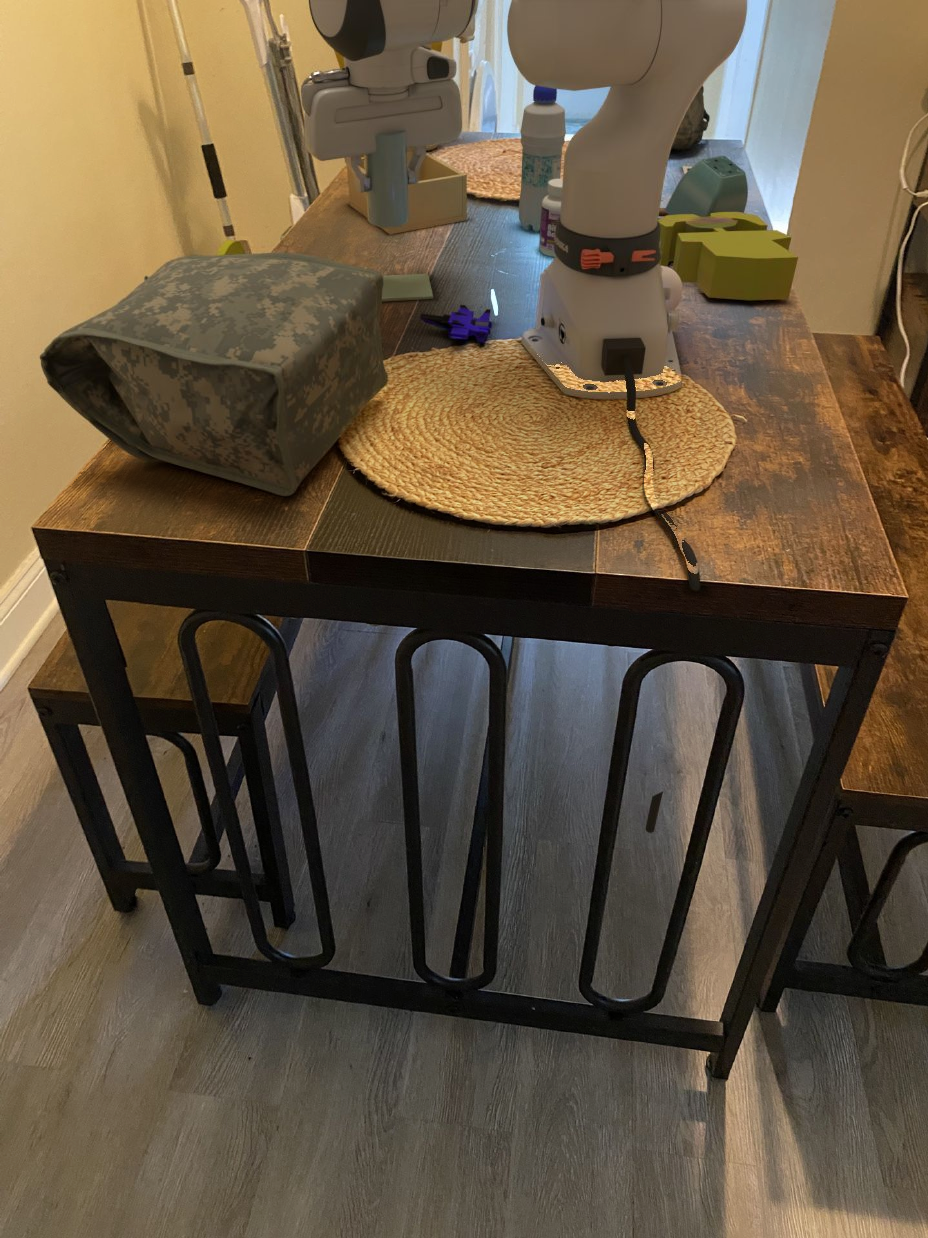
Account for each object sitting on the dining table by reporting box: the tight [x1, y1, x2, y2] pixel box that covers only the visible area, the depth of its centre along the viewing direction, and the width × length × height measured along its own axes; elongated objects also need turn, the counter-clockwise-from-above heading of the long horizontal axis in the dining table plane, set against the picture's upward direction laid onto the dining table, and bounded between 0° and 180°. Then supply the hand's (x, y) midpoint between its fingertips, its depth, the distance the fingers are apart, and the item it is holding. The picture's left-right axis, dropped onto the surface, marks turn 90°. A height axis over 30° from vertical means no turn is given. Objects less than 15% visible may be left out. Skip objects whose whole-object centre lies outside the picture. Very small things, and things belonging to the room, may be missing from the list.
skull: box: [671, 84, 711, 151], centre depth 175 cm, size 20×18×20 cm
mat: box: [382, 273, 434, 302], centre depth 125 cm, size 8×10×1 cm
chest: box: [346, 151, 468, 235], centre depth 146 cm, size 16×14×7 cm
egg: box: [661, 266, 683, 311], centre depth 116 cm, size 6×6×8 cm
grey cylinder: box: [363, 131, 409, 228], centre depth 117 cm, size 7×5×11 cm
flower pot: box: [664, 155, 749, 217], centre depth 138 cm, size 9×9×9 cm
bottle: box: [518, 85, 567, 233], centre depth 137 cm, size 7×7×20 cm
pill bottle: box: [538, 178, 563, 258], centre depth 133 cm, size 5×5×10 cm
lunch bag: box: [39, 251, 389, 497], centre depth 93 cm, size 22×16×27 cm
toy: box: [658, 212, 799, 301], centre depth 126 cm, size 16×6×20 cm
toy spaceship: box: [419, 304, 493, 348], centre depth 114 cm, size 10×9×2 cm
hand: (387, 186), depth 118 cm, fingers closed on grey cylinder, 5 cm apart
